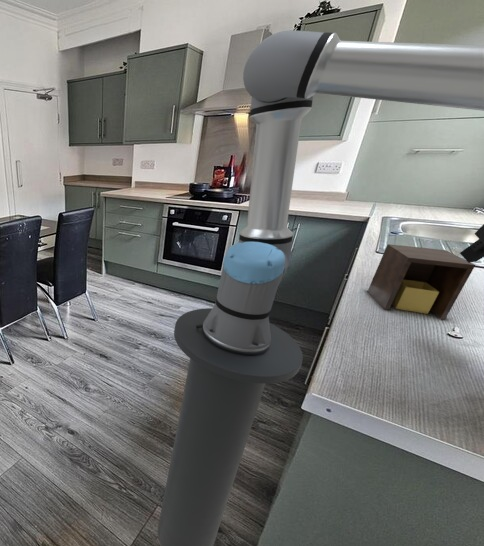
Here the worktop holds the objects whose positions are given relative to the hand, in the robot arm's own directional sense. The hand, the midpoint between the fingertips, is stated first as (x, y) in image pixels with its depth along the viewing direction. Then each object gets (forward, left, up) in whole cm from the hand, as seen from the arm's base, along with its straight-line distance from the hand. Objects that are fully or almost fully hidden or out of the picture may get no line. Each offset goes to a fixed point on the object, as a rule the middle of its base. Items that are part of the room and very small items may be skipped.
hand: (467, 257), depth 69 cm
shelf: (0, +20, -21) cm, 29 cm away
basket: (0, +19, -21) cm, 29 cm away
